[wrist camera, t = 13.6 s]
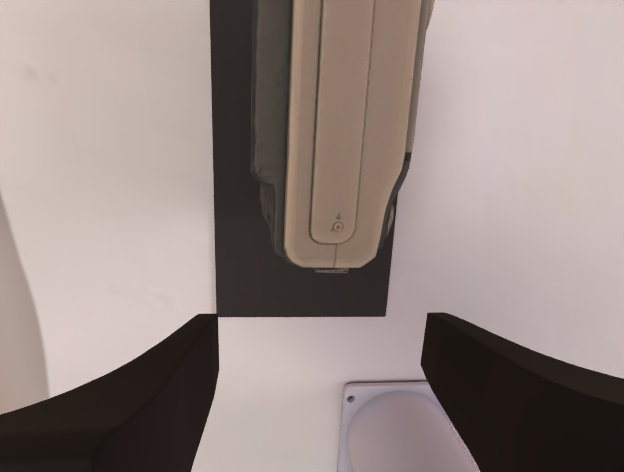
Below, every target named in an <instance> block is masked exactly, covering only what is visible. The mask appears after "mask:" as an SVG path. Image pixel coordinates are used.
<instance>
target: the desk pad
mask: <svg viewBox="0 0 624 472" xmlns="http://www.w3.org/2000/svg"><path fill="white" fill-rule="evenodd" d="M252 18H253V0H210V35H211V80H212V125H213V170H214V215H215V260H216V306H217V314H218V317H385V315H386V305H387V295H388V285H389V275H390V265H391V255H392V246H393V236H394V226H395V216H396V206H397V196H398V194H397V196H396V198H395V200H394V202H393V204H392V205H393V207H394V214H393V221H392V224H391V227H390V230H389V233H388V235H387V237H386V238H385V239H384V243H383V247H382V248H380V249H378V250H377V253H376V257H375V258H373V259H372V260H371V261H369V262H368V263H366V264H365V265H363V266H362V267H360V268H349V270H348V273H326V272H315V270H314V268H307V267H299V266H297V265H289V264H286V261H285V258H280V257H278V256H276V255H275V254H274V251H273V249H272V240H271V232H270V227H269V224H268V222H267V221H266V220H265V218H264V217H263V214H262V204H261V202H260V199H259V196H260V186H261V183H260V181H257V180H255V179H253V176H252V174H251V171H250V170H251V89H252ZM320 269H339V268H320Z"/></svg>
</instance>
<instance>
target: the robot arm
mask: <svg viewBox="0 0 624 472" xmlns="http://www.w3.org/2000/svg"><path fill="white" fill-rule="evenodd" d="M421 367H422V369H423V371H424V374H425V376H426V379H427V381H428V382H389V383H350V384H347V385H346V386H345V387H344V389H343V401H342V415H341V428H340V442H339V455H338V469H337V472H478V470H477V469H476V467H475V465H474V464H473V462H472V461H471V459H470V457H469V456H468V454H467V452H466V451H465V449H464V448H463V446H462V444H461V443H460V441H459V440H458V438H457V436H456V435H455V433H454V432H453V430H452V428H451V427H450V421H451V422H452V424H453V425H454V427H455V429H456V430H457V432H458V433H459V435H460V437H461V438H462V440H463V441H464V443H465V445H466V446H467V448H468V449H469V451H470V453H471V455H472V456H473V458H474V460H475V462H476V463H477V465H478V467H479V469H480V471H481V472H624V379H622V378H618V377H614V376H610V375H607V374H603V373H599V372H596V371H592V370H589V369H585V368H582V367H579V366H575V365H572V364H569V363H566V362H563V361H560V360H557V359H555V358H552V357H549V356H546V355H543V354H541V353H538V352H535V351H533V350H530V349H528V348H526V347H523V346H521V345H518V344H516V343H514V342H511V341H509V340H507V339H504V338H502V337H500V336H498V335H496V334H493V333H491V332H489V331H487V330H485V329H483V328H480V327H478V326H476V325H474V324H472V323H470V322H467V321H465V320H463V319H460V318H458V317H456V316H453V315H450V314H447V313H427V321H426V328H425V335H424V343H423V350H422V357H421ZM218 372H219V343H218V314H198V315H196V316H195V317H194V318H192V319H191V320H190V321H188V322H187V323H186V324H184V325H183V326H182V327H180V328H179V329H178V330H176V331H175V332H174V333H172V334H171V335H170V336H168V337H167V338H166V339H164V340H163V341H161V342H160V343H158V344H157V345H155V346H154V347H152V348H151V349H149V350H148V351H146V352H145V353H143V354H142V355H140V356H139V357H137V358H136V359H134V360H132V361H130V362H129V363H127V364H125V365H123V366H121V367H120V368H118V369H116V370H114V371H112V372H110V373H108V374H106V375H104V376H102V377H100V378H97V379H95V380H93V381H91V382H89V383H86V384H84V385H82V386H80V387H77V388H75V389H73V390H70V391H68V392H66V393H63V394H60V395H58V396H55V397H52V398H50V399H47V400H44V401H41V402H39V403H36V404H33V405H30V406H27V407H24V408H21V409H18V410H15V411H12V412H8V413H4V414H1V415H0V472H191V469H192V465H193V462H194V459H195V456H196V452H197V449H198V446H199V443H200V440H201V437H202V434H203V430H204V427H205V424H206V421H207V418H208V415H209V411H210V408H211V405H212V402H213V398H214V394H215V389H216V384H217V378H218ZM349 396H353V397H352V398H350V399H349V398H348V397H349Z"/></svg>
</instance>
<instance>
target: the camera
mask: <svg viewBox="0 0 624 472" xmlns="http://www.w3.org/2000/svg"><path fill="white" fill-rule="evenodd" d="M434 2H435V0H253V18H252V89H251V170H250V171H251V174H252V176H253V179H255V180H257V181H260V183H261V186H260V196H259V199H260V202H261V204H262V214H263V217H264V218H265V220H266V221H267V222H268V224H269V227H270V232H271V240H272V249H273V251H274V254H275V255H276V256H278V257H280V258H285V261H286V264H289V265H297V266H299V267H307V268H314V270H315V272H326V273H348V270H349V268H360V267H362V266H363V265H365V264H366V263H368V262H369V261H371V260H372V259H373V258H375V257H376V253H377V250H378V249H380V248H382V247H383V243H384V239H385V238H386V237H387V235H388V233H389V230H390V227H391V224H392V221H393V214H394V207H393V205H392V204H393V202H394V200H395V198H396V196H397V194H398V191H399V189H400V187H401V185H402V183H403V181H404V180H405V177H406V175H407V172H408V169H409V165H410V159H411V153H412V147H413V140H414V132H415V123H416V113H417V104H418V95H419V87H420V78H421V69H422V61H423V52H424V44H425V35H426V30H427V27H428V25H429V21H430V18H431V15H432V11H433V6H434ZM320 268H339V269H320Z"/></svg>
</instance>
